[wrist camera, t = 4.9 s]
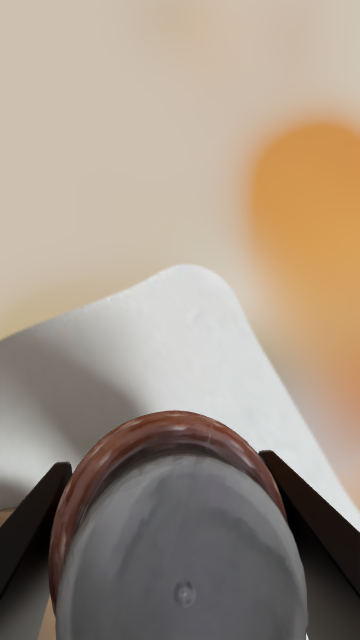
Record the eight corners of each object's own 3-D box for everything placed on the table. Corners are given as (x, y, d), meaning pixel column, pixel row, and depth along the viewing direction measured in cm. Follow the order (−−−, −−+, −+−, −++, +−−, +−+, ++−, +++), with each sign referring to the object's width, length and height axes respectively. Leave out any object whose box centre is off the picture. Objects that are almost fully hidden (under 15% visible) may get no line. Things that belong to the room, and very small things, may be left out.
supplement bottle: (86, 540, 14) (-128, 871, 3) (120, 411, 16) (57, 364, 6) (210, 567, 14) (386, 976, 3) (226, 434, 16) (364, 430, 6)
